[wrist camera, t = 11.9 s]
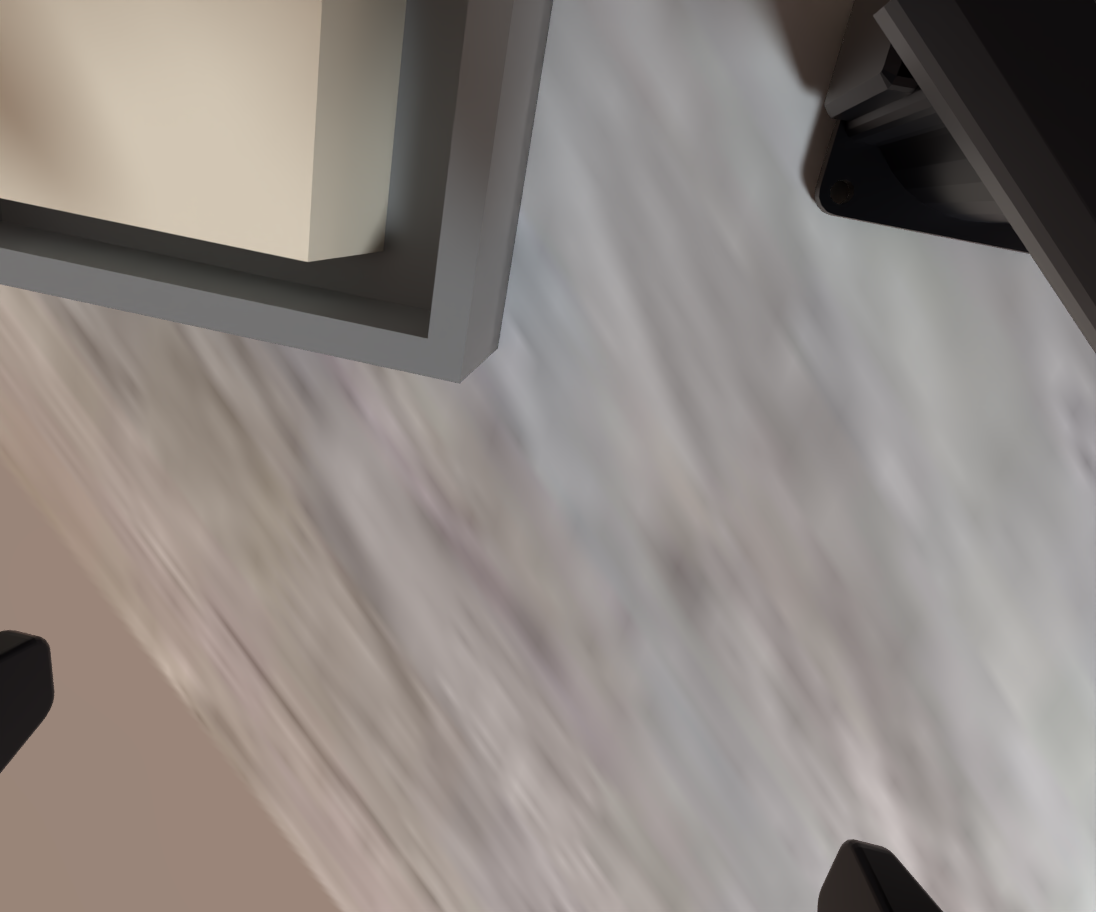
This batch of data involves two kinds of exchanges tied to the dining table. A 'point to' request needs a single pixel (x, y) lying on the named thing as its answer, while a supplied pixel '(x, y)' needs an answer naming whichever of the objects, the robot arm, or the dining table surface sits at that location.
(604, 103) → the dining table surface
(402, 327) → the tray
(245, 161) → the cream beveled block
